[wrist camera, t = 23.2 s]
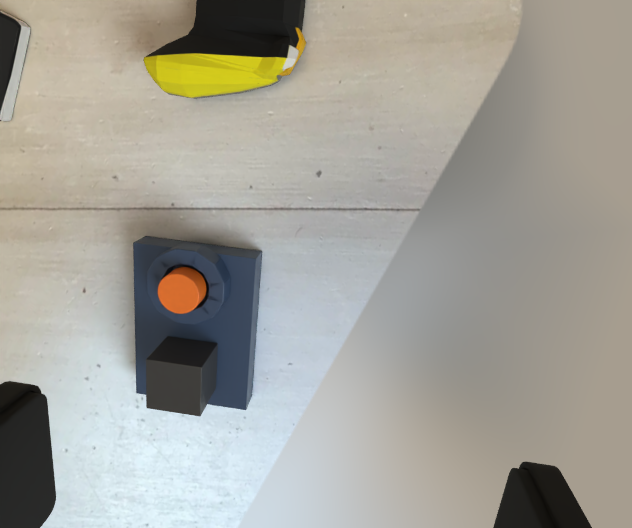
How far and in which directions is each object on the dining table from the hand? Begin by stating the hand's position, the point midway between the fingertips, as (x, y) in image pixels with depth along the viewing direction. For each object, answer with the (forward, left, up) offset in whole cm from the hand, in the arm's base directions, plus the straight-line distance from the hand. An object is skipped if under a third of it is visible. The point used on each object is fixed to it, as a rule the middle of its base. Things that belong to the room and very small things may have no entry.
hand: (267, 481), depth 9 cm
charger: (+11, +14, -26) cm, 32 cm away
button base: (+11, +11, -28) cm, 32 cm away
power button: (+11, +7, -25) cm, 28 cm away
